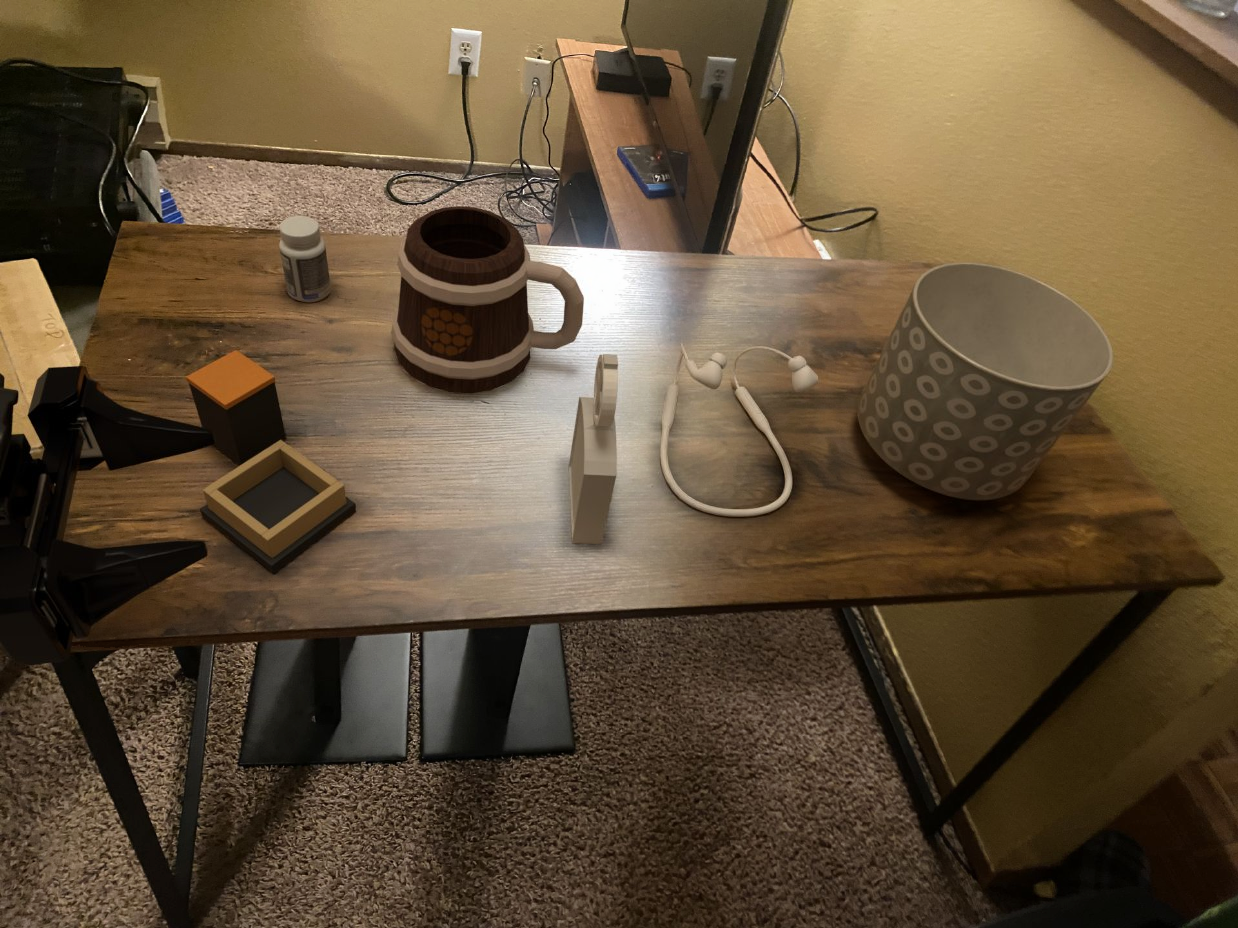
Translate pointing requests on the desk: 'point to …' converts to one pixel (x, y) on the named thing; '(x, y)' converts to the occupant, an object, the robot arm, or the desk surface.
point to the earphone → (712, 379)
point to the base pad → (276, 505)
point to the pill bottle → (304, 259)
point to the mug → (472, 301)
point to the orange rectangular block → (238, 406)
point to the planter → (980, 379)
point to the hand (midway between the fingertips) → (210, 489)
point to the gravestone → (594, 455)
